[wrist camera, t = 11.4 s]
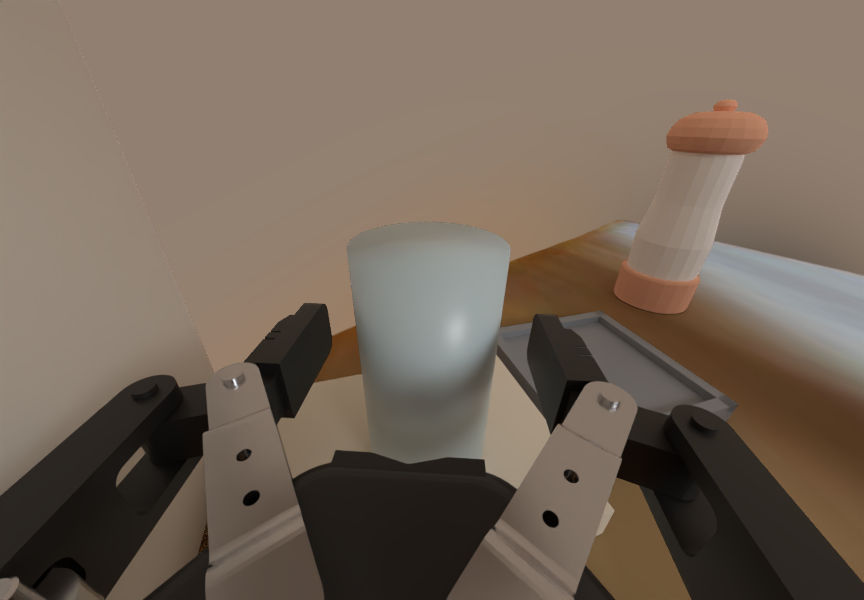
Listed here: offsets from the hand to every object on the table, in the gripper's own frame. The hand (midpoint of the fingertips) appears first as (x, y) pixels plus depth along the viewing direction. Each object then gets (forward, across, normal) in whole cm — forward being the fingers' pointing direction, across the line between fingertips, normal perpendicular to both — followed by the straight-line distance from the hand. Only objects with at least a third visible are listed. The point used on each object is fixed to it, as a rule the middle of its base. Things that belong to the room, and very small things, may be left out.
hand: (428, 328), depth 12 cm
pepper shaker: (+23, -24, +10) cm, 35 cm away
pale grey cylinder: (+1, 0, +8) cm, 8 cm away
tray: (+9, -12, +10) cm, 18 cm away
